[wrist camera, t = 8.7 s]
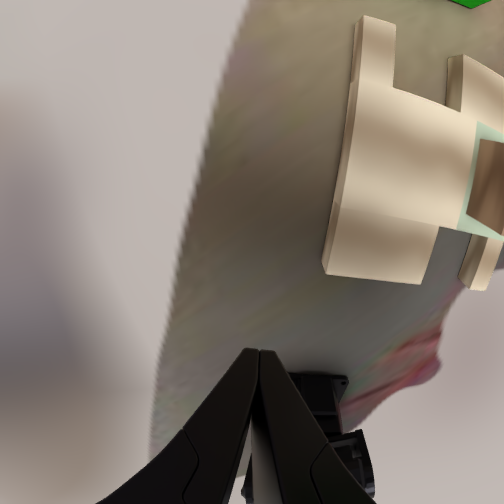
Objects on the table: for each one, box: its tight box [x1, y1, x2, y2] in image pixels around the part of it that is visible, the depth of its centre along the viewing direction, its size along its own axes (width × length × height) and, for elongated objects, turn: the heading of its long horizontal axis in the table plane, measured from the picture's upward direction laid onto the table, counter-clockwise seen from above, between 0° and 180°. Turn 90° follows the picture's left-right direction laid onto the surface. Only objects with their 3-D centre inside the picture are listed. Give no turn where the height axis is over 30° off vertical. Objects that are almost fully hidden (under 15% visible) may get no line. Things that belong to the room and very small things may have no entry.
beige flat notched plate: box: [321, 15, 504, 291], centre depth 15 cm, size 16×14×2 cm
